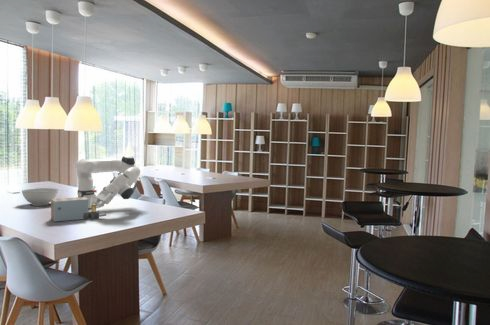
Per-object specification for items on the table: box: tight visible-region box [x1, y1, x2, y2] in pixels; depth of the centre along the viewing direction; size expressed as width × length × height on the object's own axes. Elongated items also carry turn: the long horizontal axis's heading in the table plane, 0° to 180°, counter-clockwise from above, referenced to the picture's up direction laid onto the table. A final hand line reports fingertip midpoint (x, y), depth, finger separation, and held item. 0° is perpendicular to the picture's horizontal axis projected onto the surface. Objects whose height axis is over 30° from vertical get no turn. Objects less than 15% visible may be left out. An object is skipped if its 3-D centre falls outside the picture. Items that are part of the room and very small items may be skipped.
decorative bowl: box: [21, 187, 59, 207], centre depth 322 cm, size 27×27×12 cm
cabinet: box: [50, 196, 87, 222], centre depth 270 cm, size 22×10×14 cm, turn 126°
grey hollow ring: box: [83, 210, 100, 220], centre depth 273 cm, size 10×7×4 cm, turn 126°
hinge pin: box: [90, 204, 97, 213], centre depth 274 cm, size 3×3×10 cm
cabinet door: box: [53, 199, 89, 222], centre depth 265 cm, size 22×3×14 cm, turn 126°
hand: (96, 205), depth 274 cm, fingers open, 8 cm apart
